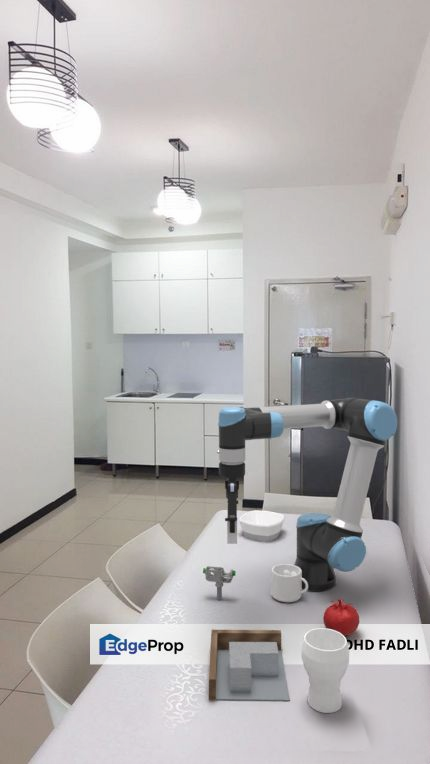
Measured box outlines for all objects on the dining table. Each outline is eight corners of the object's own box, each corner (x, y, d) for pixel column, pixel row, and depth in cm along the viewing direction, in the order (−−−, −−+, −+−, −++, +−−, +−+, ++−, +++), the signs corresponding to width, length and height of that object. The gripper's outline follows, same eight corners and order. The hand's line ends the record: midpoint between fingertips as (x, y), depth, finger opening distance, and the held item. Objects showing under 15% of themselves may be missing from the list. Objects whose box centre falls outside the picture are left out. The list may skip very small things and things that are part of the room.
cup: (296, 688, 130) (296, 628, 129) (339, 685, 131) (340, 625, 130) (308, 719, 119) (308, 653, 118) (355, 716, 120) (356, 650, 119)
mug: (312, 594, 178) (313, 567, 177) (303, 608, 168) (303, 579, 168) (277, 587, 183) (277, 560, 182) (267, 600, 174) (267, 572, 173)
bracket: (229, 664, 139) (229, 641, 138) (276, 664, 139) (276, 642, 138) (229, 692, 128) (229, 667, 128) (281, 692, 128) (281, 668, 127)
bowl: (271, 550, 215) (272, 527, 214) (232, 541, 224) (232, 519, 223) (290, 536, 230) (290, 514, 229) (253, 529, 239) (253, 508, 238)
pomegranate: (364, 638, 152) (365, 605, 151) (330, 641, 150) (331, 608, 149) (350, 620, 161) (350, 589, 161) (318, 623, 160) (318, 592, 159)
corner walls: (280, 648, 147) (280, 630, 146) (289, 701, 125) (289, 680, 125) (211, 647, 147) (211, 629, 147) (208, 700, 126) (208, 679, 125)
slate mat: (281, 651, 145) (281, 650, 145) (289, 701, 125) (289, 699, 125) (217, 650, 146) (217, 649, 146) (215, 700, 126) (215, 698, 126)
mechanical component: (234, 602, 172) (234, 572, 171) (202, 599, 174) (202, 569, 173) (235, 598, 175) (235, 568, 174) (204, 595, 177) (204, 565, 176)
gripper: (219, 452, 168) (219, 520, 170) (218, 472, 143) (218, 551, 145) (243, 452, 168) (243, 520, 170) (246, 472, 143) (246, 551, 145)
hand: (232, 534), depth 157 cm, fingers open, 13 cm apart
